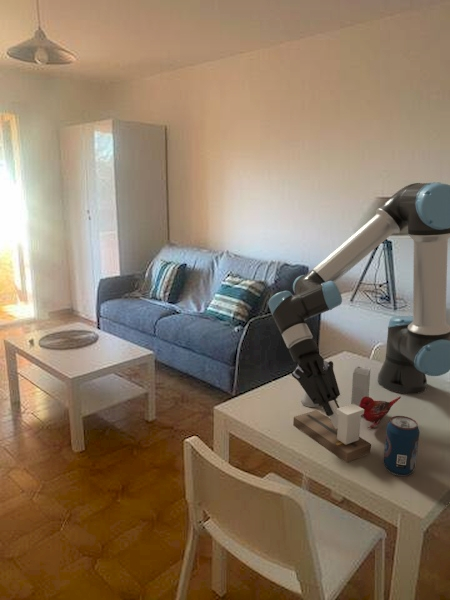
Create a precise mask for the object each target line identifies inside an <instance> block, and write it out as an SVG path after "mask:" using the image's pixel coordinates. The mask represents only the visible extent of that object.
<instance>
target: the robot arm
mask: <svg viewBox="0 0 450 600" xmlns="http://www.w3.org/2000/svg"><path fill="white" fill-rule="evenodd" d="M375 210H376V211H375V215H374V216H373V217H372V218H370V219H369V220H368V221H367V222H366V223H364V225H362V226H361V227H360V228H359V229H357V230H356V232H354V233H353V234H352V235H350V236H349V238H347V239H346V240H345V241H344V242H343V243H341V244H340V245H339V246H338V247H337V248H336V249H334V250H333V251H332V252H331V253H330V254H329V255H328V256H327V257H325V258H324V259H323V260H322V261H321V262H319V264H317V265H316V266H315V267H314V268H313V269H311V270H310V271H308V273H306V274H301V275H299V276H297V277H296V278H295V280H294V281H293V284H292V290H293V292H294V294H293V293H292V292H291V291H289V290H283V291H280V292H277V293H275V294H273V295H272V296H271V297H269V300H268V308H269V310H270V313H271V315H272V318H273V320H274V322H275V324H276V326H277V328H278V331H279V332H280V334H281V337H282V339H283V341H284V344H285V345H286V348H287V349H288V352H289V354H290V356H291V359H292V360H293V363H295V370H294V371H293V372H291V376H292V377H293V378H294V379H295V380H296V381H298V383H299V385H300V386H301V387H302V388H303V390H304V393H305V392H306V393H307V395H308V396H309V397H310V399H311V400H312V402H313V403H314V404H318V405H319V406H322V407H321V408H323V410H324V413H325V416H327V417H328V418H330V419H331V421H332V423H333V425H334V428H335V429H337V428H338V419H339V415H338V414H337V413H336V409H337V408H340V405H339V403H338V401H337V399H338V397H340V396H341V392H340V389H339V384H338V381H337V379H336V374H335V371H334V362H333V361H332V360H330V361H326V360H324V357H323V356H322V355H320V348H319V347H318V345H317V342H316V340H315V339H314V338H313V337H314V336H313V334H312V332H311V330H310V328H309V325H308V324H307V322H306V320H309V319H311V318H314V317H316V316H318V315H321V314H323V313H325V312H328V311H331V310H333V309H335V308H337V307H338V306H339V307H340V306H341V305H342V302H343V297H342V294H341V291H340V290H339V287H338V285H337V284H336V282H337V281H338V280H340V279H341V278H342V277H343V276H345V275H346V273H348V272H349V271H350V270H352V269H353V268H354V267H355V266H356V265H358V263H360V262H361V261H362V260H363V259H364V258H366V257H367V256H368V255H369V254H370V253H371V252H373V251H374V250H375V249H376V248H377V247H378V246H380V245H381V244H382V243H383V242H384V241H386V240H387V239H388V238H389V237H390V236H392V235H393V234H399V233H400V232H401V231H403V230H404V229H405V228H407V235H408V237H410V238H411V239H412V240H413V295H412V296H413V297H412V300H413V301H412V303H413V304H412V305H413V307H412V308H413V309H412V313H413V314H412V316H411V315H398V316H397V315H395V316H393V317H392V316H391V318H390V319H389V321H388V326H387V338H386V339H387V340H386V347H385V348H386V349H385V359H384V361H383V364H382V366H381V368H380V371H379V372H378V375H377V383H378V385H380V386H381V388H382V387H383V388H384V389H386V390H389V391H392V392H395V393H400V394H409V395H412V394H415V395H416V394H420V393H423V392H425V391H426V390H427V384H428V380H427V376H429V377H439V376H443V375H445V374H447V373H448V372H450V324H448V323H447V321H446V320H447V319H446V318H447V314H446V313H447V282H448V281H447V279H448V278H447V277H448V247H449V246H448V245H449V244H448V242H449V241H448V240H449V238H450V184H447V183H442V182H435V181H434V182H416V183H415V182H414V183H410V184H408V185H406V186H404V187H402V188H401V189H399V190H398V191H396V192H395V193H393V195H391V197H389V198H388V199H387V200H386V201H384V202H383V203H382V204H381V205H380V206H379V207H377V209H375Z"/></svg>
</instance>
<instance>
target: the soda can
mask: <svg viewBox="0 0 450 600" xmlns="http://www.w3.org/2000/svg"><path fill="white" fill-rule="evenodd" d="M419 440H420V429H419V426H418V422H417V421H416V420H415V419H413V418H412V417H408V416H405V415H404V416H403V415H393V416H392V417H391V418H390V419H389V422H388V423H387V424H386V433H385V442H384V451H383V464H384V466H385V469H386V470H387V471H388V472H389V473H391V474H393V475H396V476H399V477H407V476H409V475H411V474H412V473H413V472H414V471H415V469H416V464H417V456H418V449H419V448H418V447H419Z"/></svg>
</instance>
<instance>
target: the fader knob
mask: <svg viewBox="0 0 450 600" xmlns="http://www.w3.org/2000/svg"><path fill="white" fill-rule="evenodd" d="M336 413H337V414H338V415H339V419H338V432H337V439H338V440H339V441H341V442H342V443H344V444H345V445H347V444H349V443H352V442H355V441H357V440H359V437H360V434H361V433H360V430H361V422H362V421H361V419H362V416H363V415H362V414H364V409H363V408H361V407H359V406H357V405H355V404H351V403H349V404H347V405H344V406H339V408H337V409H336Z"/></svg>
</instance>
